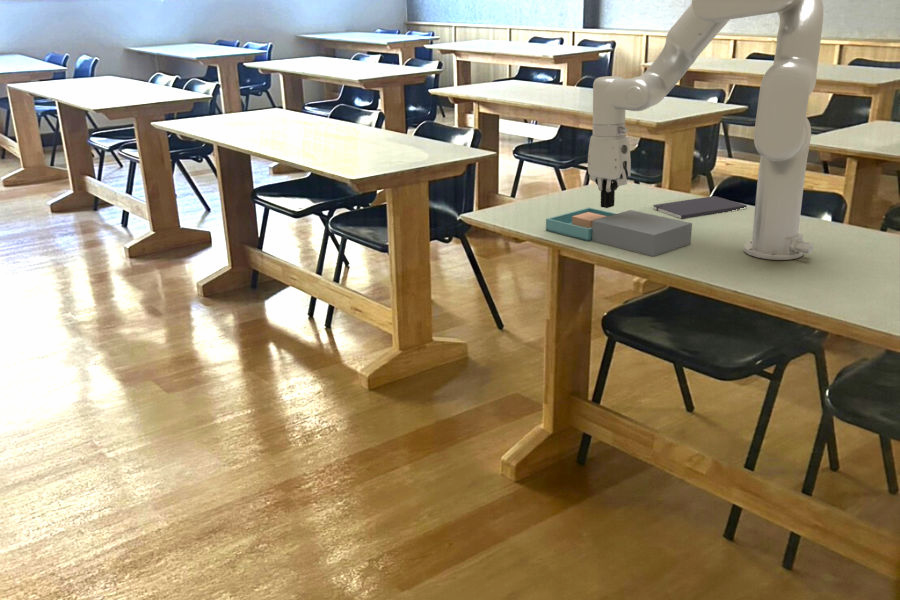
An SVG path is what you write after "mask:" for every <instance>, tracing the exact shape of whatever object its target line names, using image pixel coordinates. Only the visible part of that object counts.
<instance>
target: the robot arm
mask: <svg viewBox="0 0 900 600" xmlns="http://www.w3.org/2000/svg"><path fill="white" fill-rule="evenodd" d="M774 13H777V14H778V16H779V26H778V31H777V36H776V44H775V46H776V47H775V52H774V53H775V54H774V59H773V63H772V65H771V66H770V67H769V68H768V69H767V70H766V72H765V73H764V74H763V77H762V80H761V82H760V87H759V93H758V100H757V110H756V116H755V124H754V125H755V126H754V131H753V132H754V133H753V142H754V147H755V149H756V151H757V153H758V154H759V156H760V157H759V166H758V167H759V168H758V174H757V183H756V194H755V203H754V204H755V206H754V214H753V215H754V217H753V226H752V236H751V241H748V242H746V243H745V244H744V246H743V251H744V252H745V253H746V254H747V255H749V256H752V257H755V258H758V259H763V260H764V259H765V260H770V261H771V260H772V261H773V260H774V261H787V260H794V259H795V260H796V259H799V258H801V257H803V255H804V254H809V255H812V253H813V251H814V243H813V242H809V241H804V240H803V237H804V235H803V233H799V232H800V222H801V213H802V212H801V211H802V205H803V204H802V203H803V195H804V188H805V179H806V170H807V163H808V162H807V161H808V155H809V150H810V145H811V139H812V128H811V122H810V121H809V119H808V117H807V112H808V104H809V99H810V95H811V94H812V93H813V92H814V89H815V87H816V85H817V75H818V74H817V73H818V65H819V59H820V58H819V56H820V51H821V43H822V42H821V40H822V32H823V22H824V4H823V0H691V3H690V5H689V6H688V7H687V8H686V10H685V11H684V12H683V14H681V16H680V17H679V18H678V19H677V21H676V22H675V23H674V24H673V25H672V26H671V27H670V28H669V30H668V32H667V34H666V38H665V43H664V46H663V48H662V50H661V52H660V53H659V55H658V56H657V57H656V59H655V60H654V61H653V62H652V63H651V64H650V66H649V67H648V68H647V69H646V70H645V72H643V74H641V75H639V76H635V77H631V78H624V77H621V76H616V75H613V76H612V75H610V76H609V75H607V76H599V77H596V78H595V79H594V81H593V84H592V135H591V136H590V139H589V145H588V153H587V172H588V175H589V180H590V181H592V182H593V183H595V184H596V185H597V187H598V191H600V208H604V209H609V208H613V207H614V206H615V194H616V193H615V191H617V190H618V188H619V187H620V186H626V185H628V180H627V178H628V179H629V178H630V177H631V173H632V172H631V171H632V169H631V168H632V166H631V165H632V163H631V162H632V161H631V160H632V159H631V147H630V143H629V137H628V136H626V134H627V133H628V132H629V130H628V127H626V111H629V112H642V111H645V110H647V109H649V108H651V107H653V106H655V105H658V104H659V103H661V101H662V100H664V99H665V97H667V95H668V94H669V93H670V92H671V91H672V89H674V88H675V86H677V84H678V83H679V82H680V80H681V79H682V78H683V77H684V75H685V74H686V73H687V71H688V70H689V69H690V68H691V66H692V65H693V64H694V63H695V62H696V60H697V59H698V57H699V56H700V55H701V54H702V52H703V51H704V50H705V49H706V48H707V47H708V45H709V44H710V43H711V42H712V41H713V40H714V38H715V37H716V36H717V35H718V34H719V33H720V32H721V31H722V29H724V27H725V26H726V25H727V24H728V23H729V21H730V20H735V19H736V20H737V19H742V18H750V17H755V16H762V15H769V14H774Z"/></svg>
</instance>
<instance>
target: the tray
mask: <svg viewBox="0 0 900 600" xmlns="http://www.w3.org/2000/svg"><path fill="white" fill-rule="evenodd" d="M587 212H591V213H595V214H599V215H604V216H611V215H614V214H617V213H616V212H611V211H606V210H604V209H597V208H593V207H586V208H583V209H578V210H573V211H571V212H566V213H563V214H559V215H556V216H552V217H549V218H545V231H546V232H551V233H553V234H558V235H562V236H566V237H570V238H574V239H577V240H581V241H584V242H590V241H591V242H593V241H592V227H591V228H585V227H581V226H577V225H572V216H575V215H579V214H583V213H587Z"/></svg>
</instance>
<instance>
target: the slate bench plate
mask: <svg viewBox="0 0 900 600" xmlns="http://www.w3.org/2000/svg"><path fill="white" fill-rule="evenodd" d="M692 228H693V223H692V222H688V221H684V220H681V219H680V220H679V219H675V218H669V217H665V216H660V215H655V214H650V213H648V212H647V213H646V212H641V211H636V210H632V209H629V210H626V211H623V212H622V211H621V212H619V213H616V214H614V215H611V216H607V217H604V218H600V219H597V220H593V223H592V241H591V242H595V243H598V244H603V245H606V246H611V247H613V248H618V249H622V250H626V251H631V252H634V253H638V254H642V255H645V256H648V257H649V256H650V257H656V256H658V255H662V254H665V253H667V252H668V253H669V252H671V251H673V250H677V249H680V248H682V247H686V246H689V245H691V243H692Z"/></svg>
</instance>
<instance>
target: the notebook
mask: <svg viewBox="0 0 900 600" xmlns="http://www.w3.org/2000/svg"><path fill="white" fill-rule="evenodd" d="M652 206H653V210H655V211H657V212H660V213H664V214H667V215H669V216H672V217H675V218H677V219H680V220H685V219H692V218H697V217H698V218H699V217H705V216H711V215H716V214H717V213H718V214H722V213H723V212H724V213H729V212H728V211H731V212H733V211H732V210H736V209H740V208H744V207H746V208H747V204H744V203H741V202H737V201H733V200H731V199H730V200H729V199H727V198H723V197H720V196H716V195H714V196H713V195H712V196H711V195H710V196H706V197H699V198H691V199H685V200H678V201H671V202H665V203H664V202H663V203H658V204H653V205H652ZM724 213H723V214H724Z"/></svg>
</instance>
